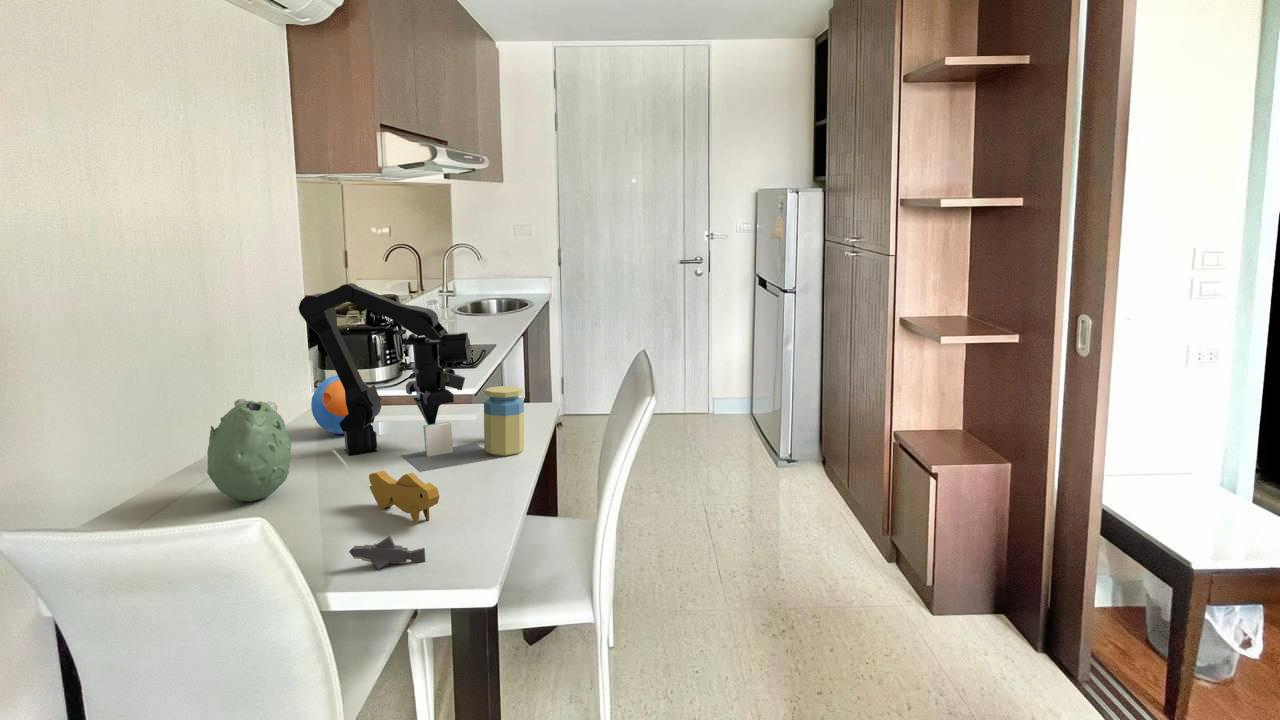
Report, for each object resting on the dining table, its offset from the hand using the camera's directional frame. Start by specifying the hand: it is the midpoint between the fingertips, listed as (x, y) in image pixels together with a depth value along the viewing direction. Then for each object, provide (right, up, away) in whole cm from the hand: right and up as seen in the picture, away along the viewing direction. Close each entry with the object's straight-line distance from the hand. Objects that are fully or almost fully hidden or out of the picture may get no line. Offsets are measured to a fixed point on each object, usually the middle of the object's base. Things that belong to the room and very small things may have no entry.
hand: (431, 427), depth 209 cm
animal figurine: (+9, -17, -67) cm, 70 cm away
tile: (+3, -6, -3) cm, 7 cm away
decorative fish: (+5, -13, -44) cm, 46 cm away
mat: (+5, -7, -6) cm, 11 cm away
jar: (+18, -6, -4) cm, 19 cm away
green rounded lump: (-28, -12, -31) cm, 44 cm away
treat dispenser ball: (-27, -3, +21) cm, 35 cm away
